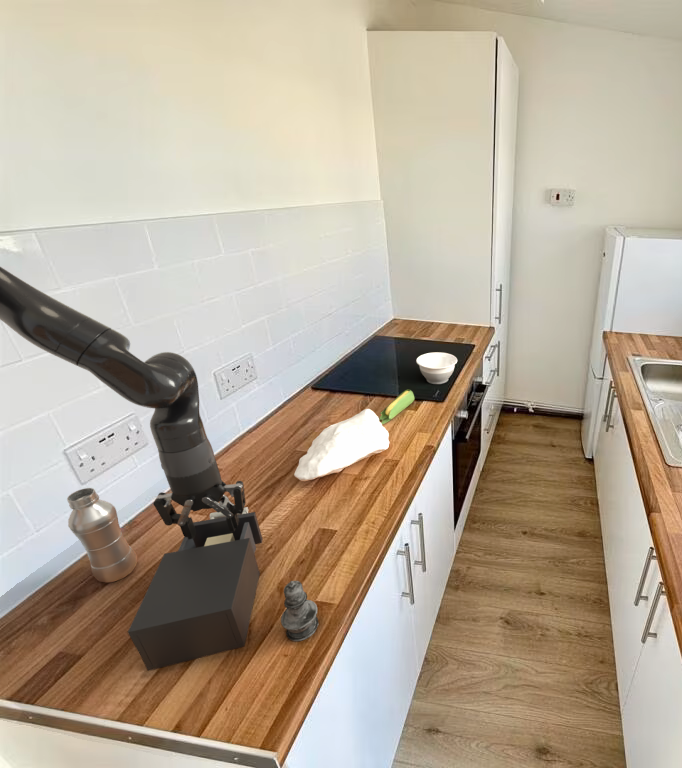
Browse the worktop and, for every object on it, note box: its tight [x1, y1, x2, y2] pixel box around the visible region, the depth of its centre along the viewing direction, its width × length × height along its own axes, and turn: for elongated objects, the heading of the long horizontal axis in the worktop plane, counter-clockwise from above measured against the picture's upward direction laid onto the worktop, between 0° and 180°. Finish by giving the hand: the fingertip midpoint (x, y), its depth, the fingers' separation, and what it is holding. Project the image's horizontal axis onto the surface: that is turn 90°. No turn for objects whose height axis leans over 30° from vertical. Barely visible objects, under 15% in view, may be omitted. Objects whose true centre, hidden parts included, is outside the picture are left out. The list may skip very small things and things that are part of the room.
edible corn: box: [379, 389, 415, 425], centre depth 148 cm, size 5×20×5 cm, turn 163°
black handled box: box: [127, 538, 261, 672], centre depth 77 cm, size 16×14×10 cm
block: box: [204, 533, 235, 546], centre depth 87 cm, size 4×4×4 cm
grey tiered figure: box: [280, 580, 319, 642], centre depth 75 cm, size 6×6×12 cm
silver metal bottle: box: [66, 487, 138, 584], centre depth 82 cm, size 6×7×20 cm
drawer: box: [177, 506, 264, 556], centre depth 87 cm, size 20×13×8 cm, turn 19°
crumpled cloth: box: [293, 408, 390, 482], centre depth 122 cm, size 24×35×9 cm
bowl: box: [415, 351, 458, 385], centre depth 171 cm, size 16×16×8 cm
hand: (213, 532), depth 84 cm, fingers open, 6 cm apart
